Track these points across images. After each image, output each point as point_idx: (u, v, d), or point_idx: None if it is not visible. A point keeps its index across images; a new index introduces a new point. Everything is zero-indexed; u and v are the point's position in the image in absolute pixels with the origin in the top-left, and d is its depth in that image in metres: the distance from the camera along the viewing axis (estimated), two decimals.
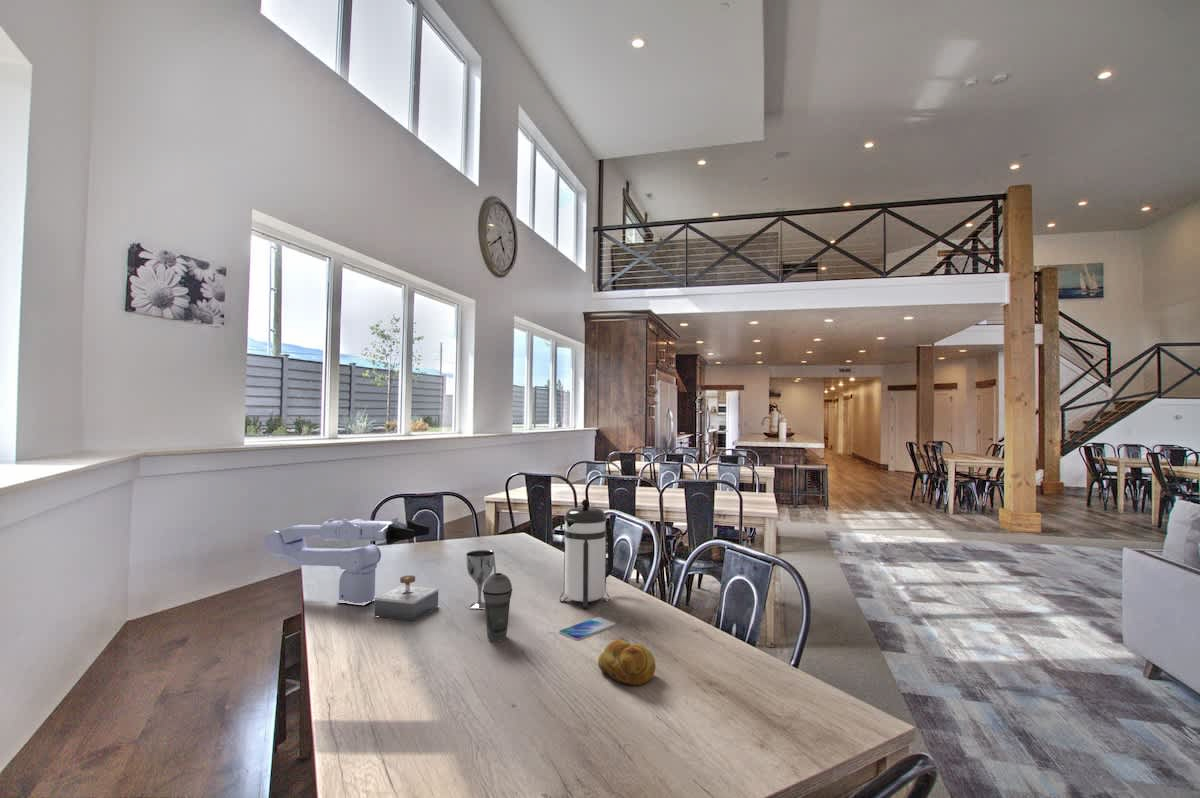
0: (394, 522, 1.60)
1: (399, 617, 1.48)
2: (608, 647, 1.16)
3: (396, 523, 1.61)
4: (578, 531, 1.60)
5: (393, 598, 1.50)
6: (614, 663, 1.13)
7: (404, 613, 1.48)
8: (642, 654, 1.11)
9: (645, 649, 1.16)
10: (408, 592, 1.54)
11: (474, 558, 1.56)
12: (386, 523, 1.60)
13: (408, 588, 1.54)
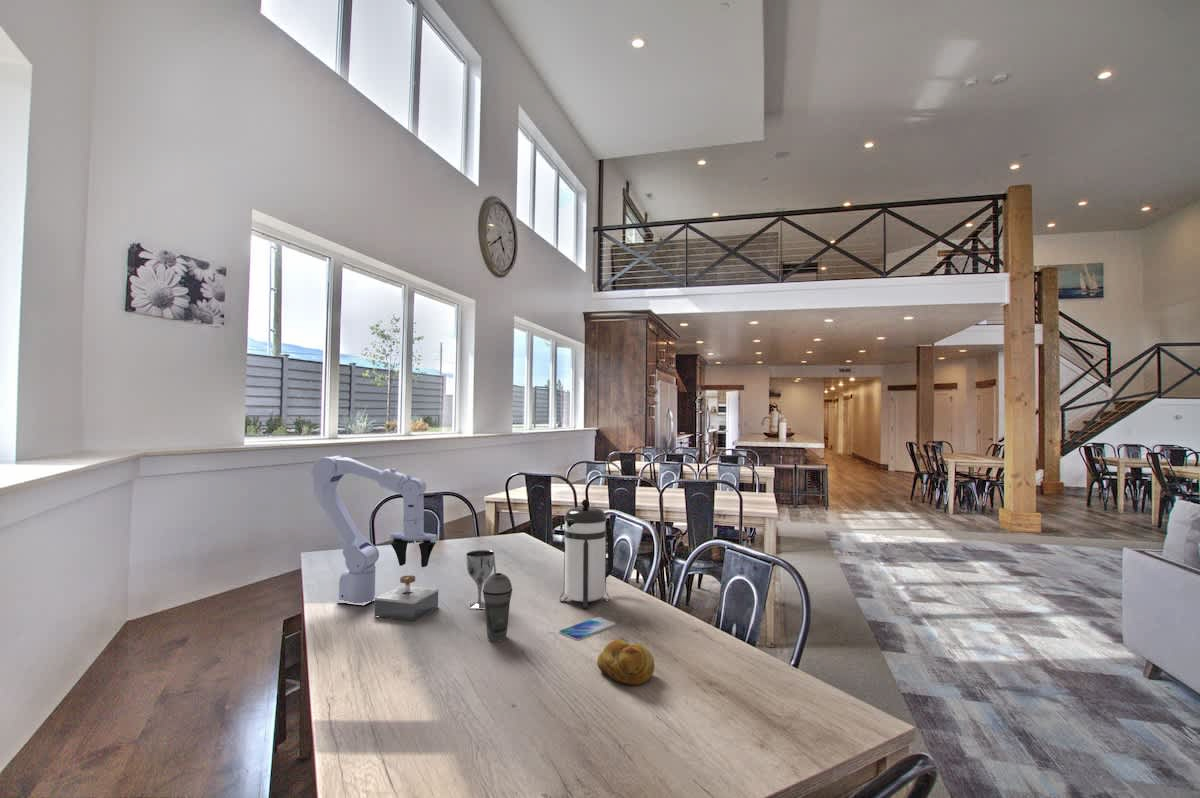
0: None
1: (399, 617, 1.48)
2: (607, 647, 1.17)
3: None
4: (578, 531, 1.60)
5: (393, 598, 1.50)
6: (613, 663, 1.13)
7: (404, 613, 1.48)
8: (641, 654, 1.11)
9: (644, 649, 1.16)
10: (408, 592, 1.54)
11: (474, 558, 1.56)
12: None
13: (408, 588, 1.54)
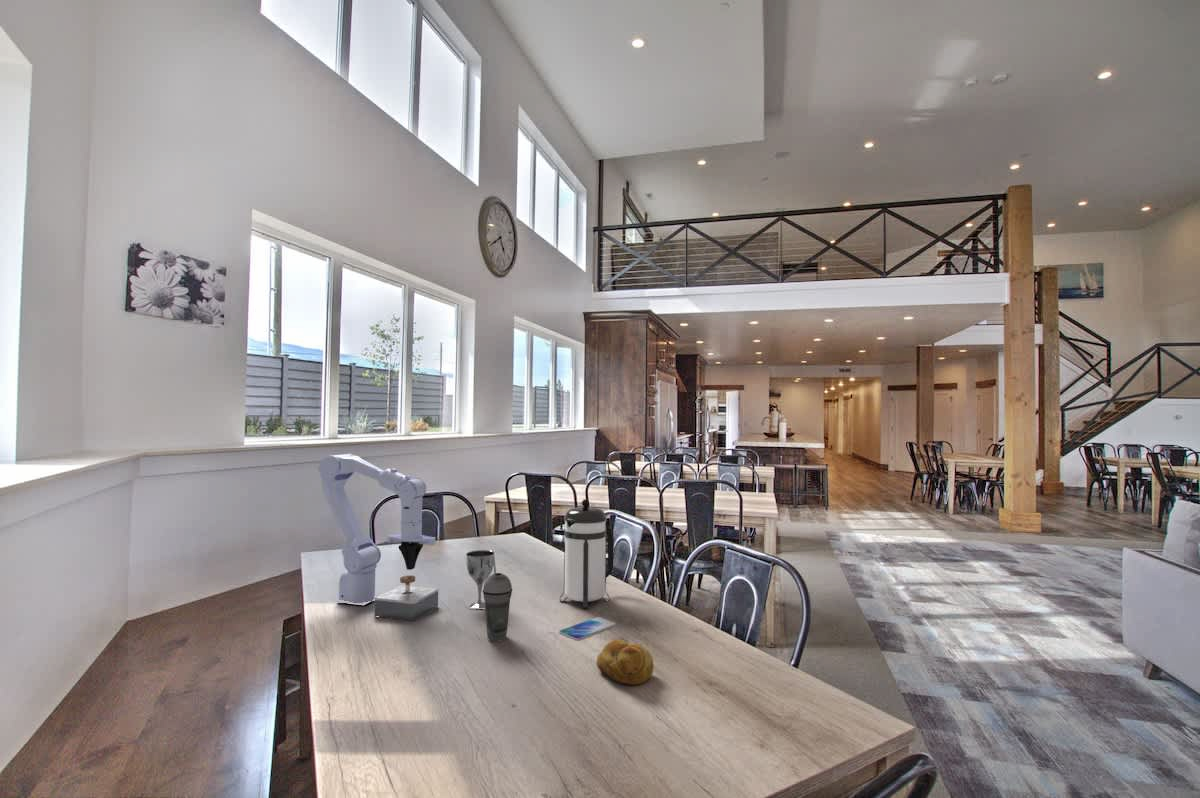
0: None
1: (399, 617, 1.48)
2: (606, 647, 1.17)
3: None
4: (578, 531, 1.60)
5: (393, 598, 1.50)
6: (612, 663, 1.13)
7: (404, 613, 1.48)
8: (639, 654, 1.11)
9: (643, 649, 1.16)
10: (408, 592, 1.54)
11: (474, 558, 1.56)
12: None
13: (408, 588, 1.54)
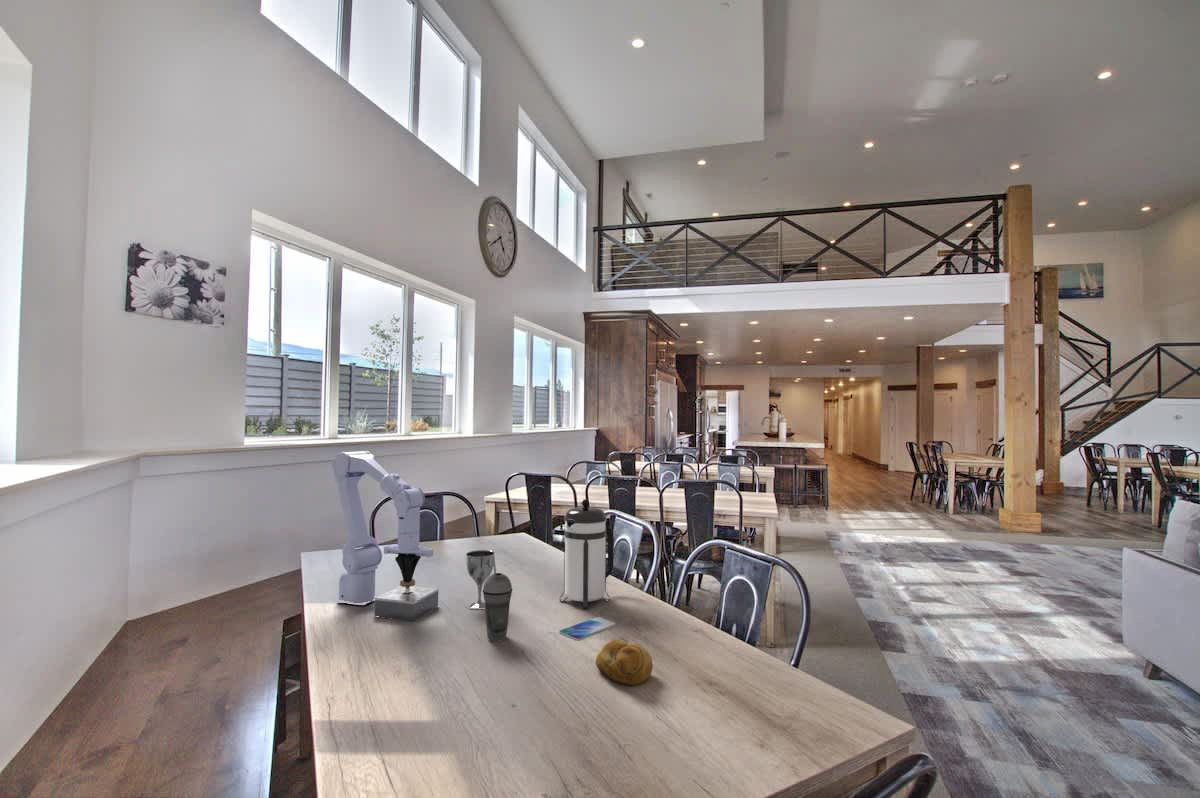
0: None
1: (399, 617, 1.48)
2: (605, 646, 1.17)
3: None
4: (578, 531, 1.60)
5: (393, 598, 1.50)
6: (611, 662, 1.13)
7: (404, 613, 1.48)
8: (638, 654, 1.11)
9: (642, 649, 1.16)
10: None
11: (474, 558, 1.56)
12: None
13: (408, 592, 1.54)
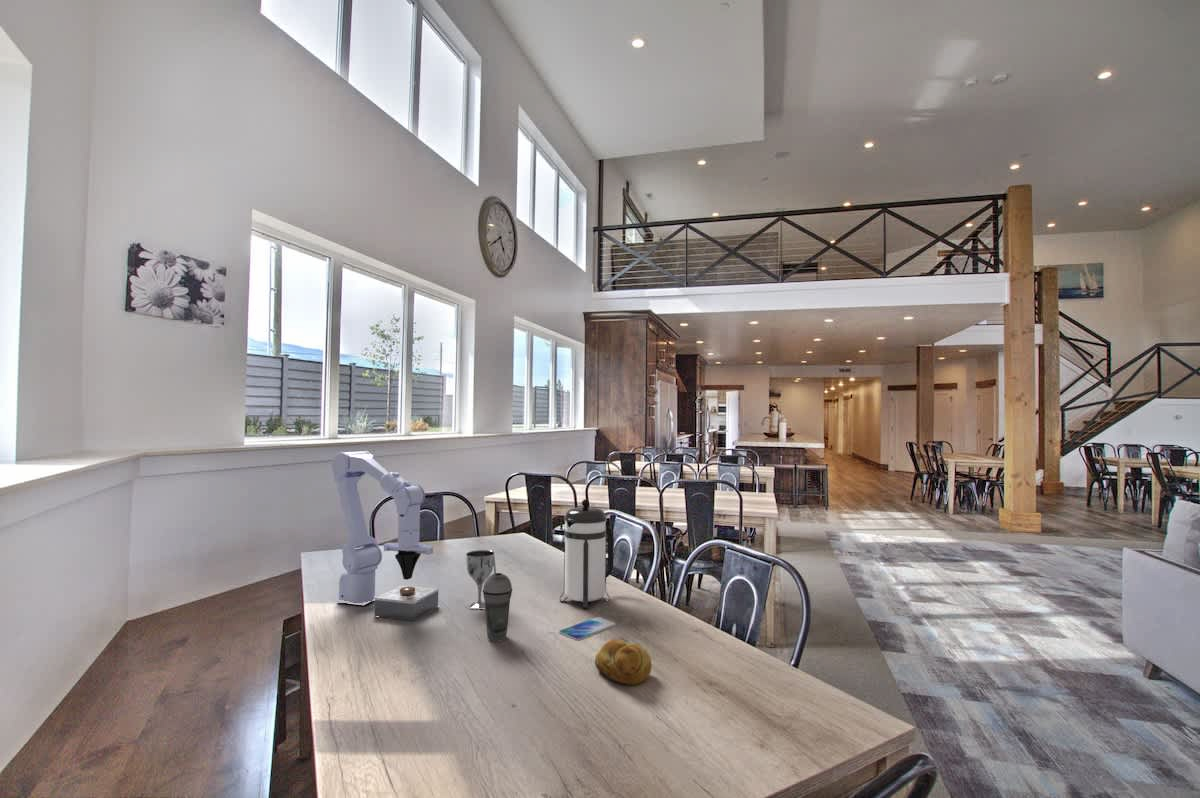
0: None
1: (399, 617, 1.48)
2: (604, 646, 1.17)
3: None
4: (578, 531, 1.60)
5: (393, 598, 1.50)
6: (609, 662, 1.13)
7: (404, 613, 1.48)
8: (637, 654, 1.11)
9: (641, 649, 1.16)
10: None
11: (474, 558, 1.56)
12: None
13: None
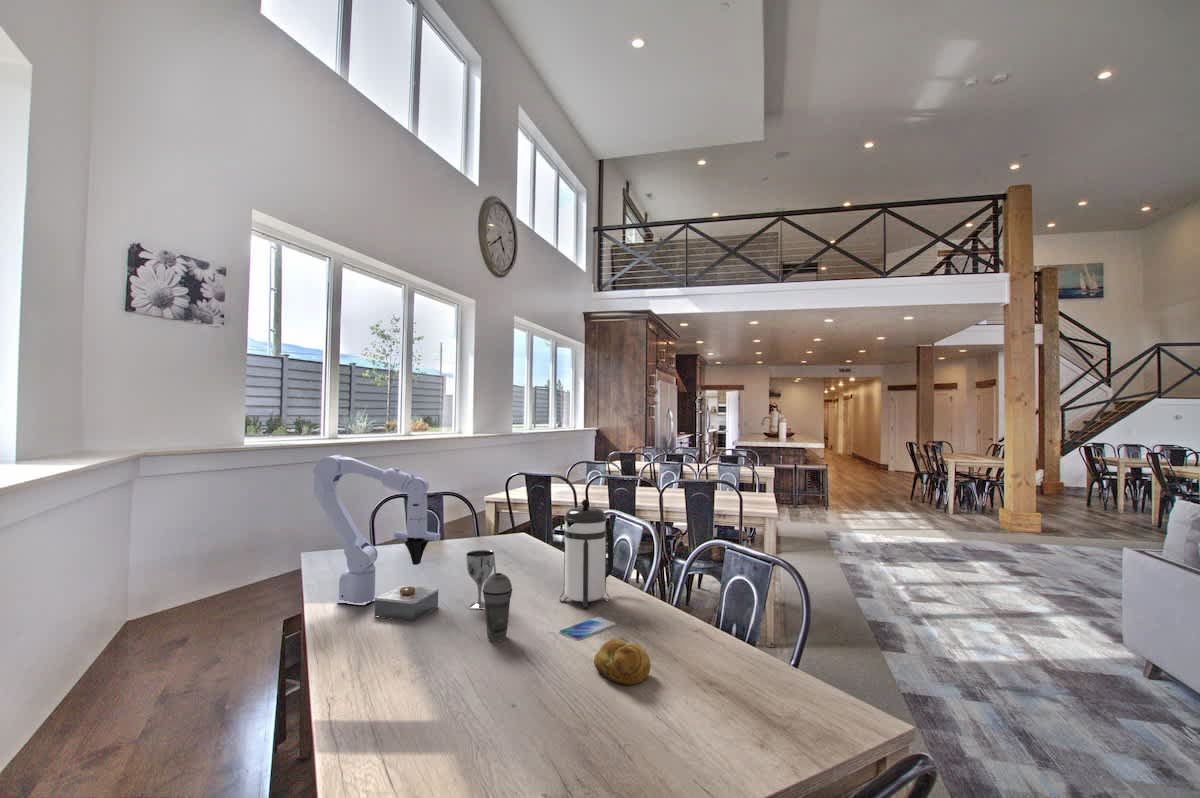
0: None
1: (399, 617, 1.48)
2: (603, 646, 1.17)
3: None
4: (578, 531, 1.60)
5: (393, 598, 1.50)
6: (608, 662, 1.13)
7: (404, 613, 1.48)
8: (635, 654, 1.11)
9: (640, 649, 1.16)
10: None
11: (474, 558, 1.56)
12: None
13: None
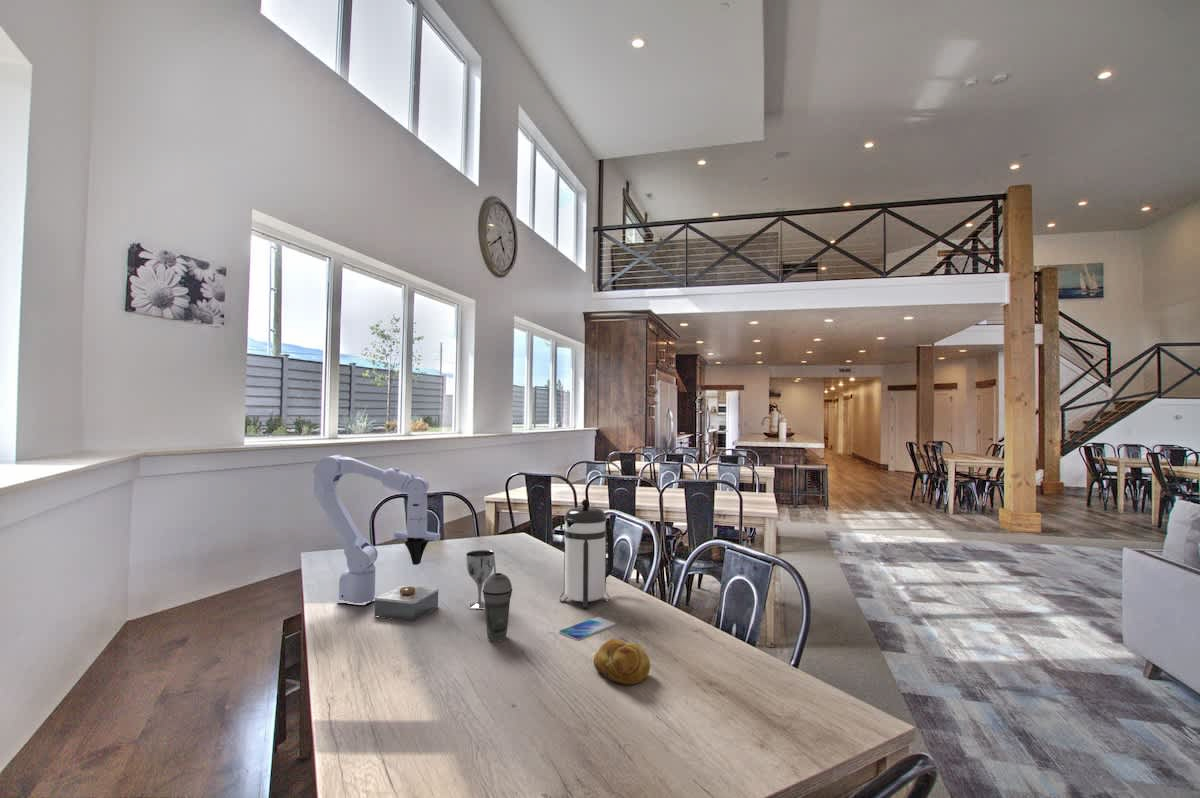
0: None
1: (399, 617, 1.48)
2: (603, 646, 1.17)
3: None
4: (578, 531, 1.60)
5: (393, 598, 1.50)
6: (607, 662, 1.13)
7: (404, 613, 1.48)
8: (635, 654, 1.11)
9: (639, 649, 1.16)
10: None
11: (474, 558, 1.56)
12: None
13: None
